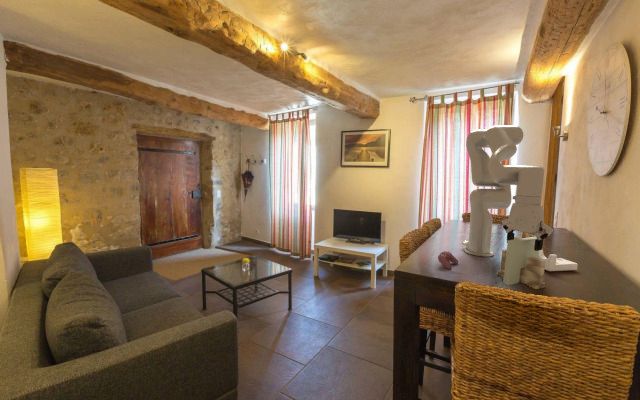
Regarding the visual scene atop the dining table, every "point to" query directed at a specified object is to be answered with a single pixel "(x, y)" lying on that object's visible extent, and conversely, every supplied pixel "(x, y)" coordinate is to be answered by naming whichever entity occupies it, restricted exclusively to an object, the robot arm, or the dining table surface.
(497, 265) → the dining table surface
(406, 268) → the dining table surface
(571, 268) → the bracket
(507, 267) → the sage plate
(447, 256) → the video game controller
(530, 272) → the birch stand
